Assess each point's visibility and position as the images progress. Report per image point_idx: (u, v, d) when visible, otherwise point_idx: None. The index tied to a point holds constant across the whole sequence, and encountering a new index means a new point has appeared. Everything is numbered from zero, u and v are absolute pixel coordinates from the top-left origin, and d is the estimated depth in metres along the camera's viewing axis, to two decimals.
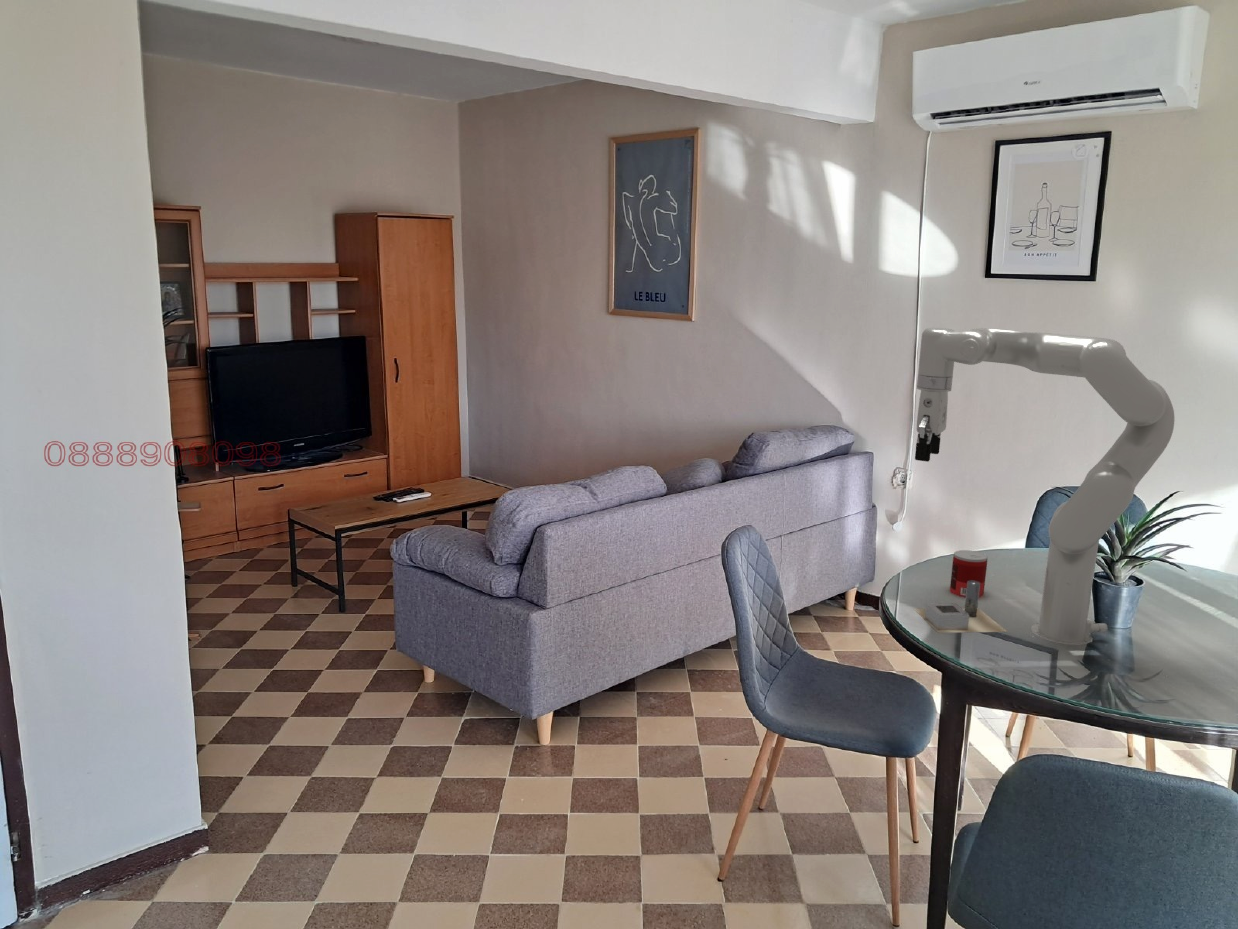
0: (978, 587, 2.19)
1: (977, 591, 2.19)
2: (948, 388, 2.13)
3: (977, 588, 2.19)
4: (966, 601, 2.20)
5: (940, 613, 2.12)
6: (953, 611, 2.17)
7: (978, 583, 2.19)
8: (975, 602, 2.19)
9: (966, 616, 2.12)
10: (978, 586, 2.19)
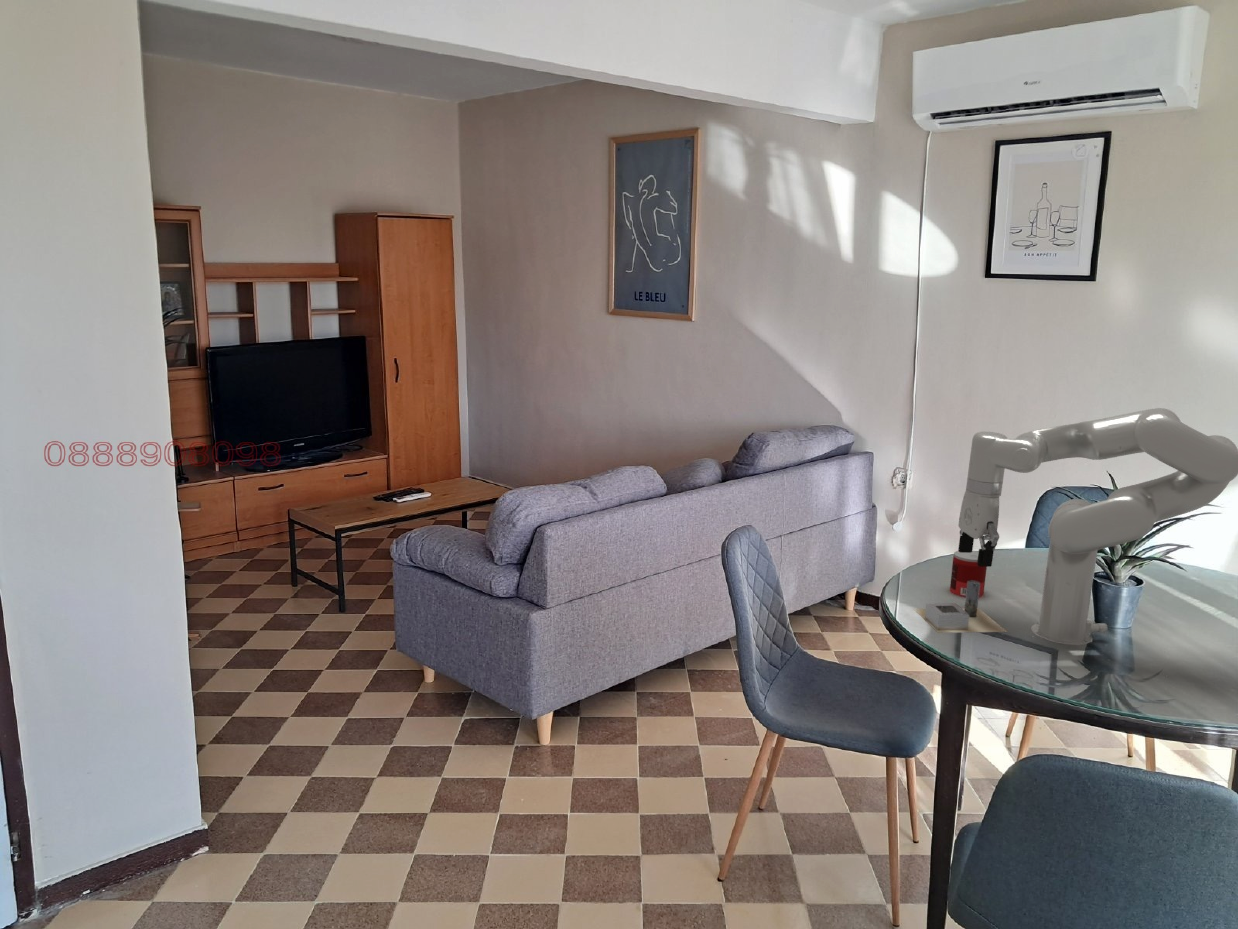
0: (978, 587, 2.19)
1: (977, 591, 2.19)
2: (966, 488, 2.16)
3: (977, 588, 2.19)
4: (966, 601, 2.20)
5: (940, 613, 2.12)
6: (953, 611, 2.17)
7: (978, 583, 2.19)
8: (975, 602, 2.19)
9: (966, 616, 2.12)
10: (978, 586, 2.19)
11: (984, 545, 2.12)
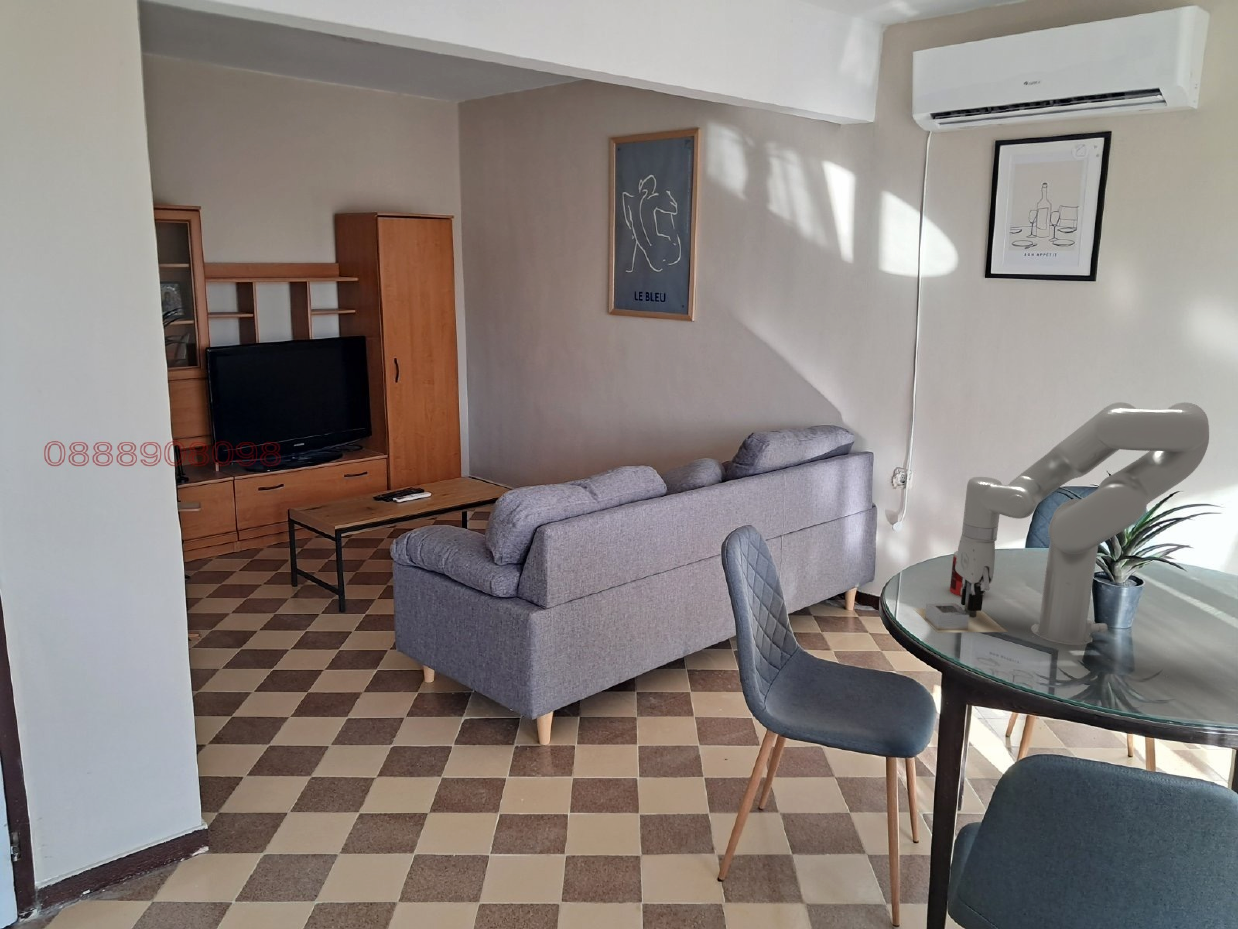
0: None
1: None
2: (962, 532, 2.18)
3: None
4: (966, 601, 2.21)
5: (940, 613, 2.12)
6: (953, 611, 2.17)
7: None
8: None
9: (966, 616, 2.12)
10: None
11: (974, 592, 2.17)
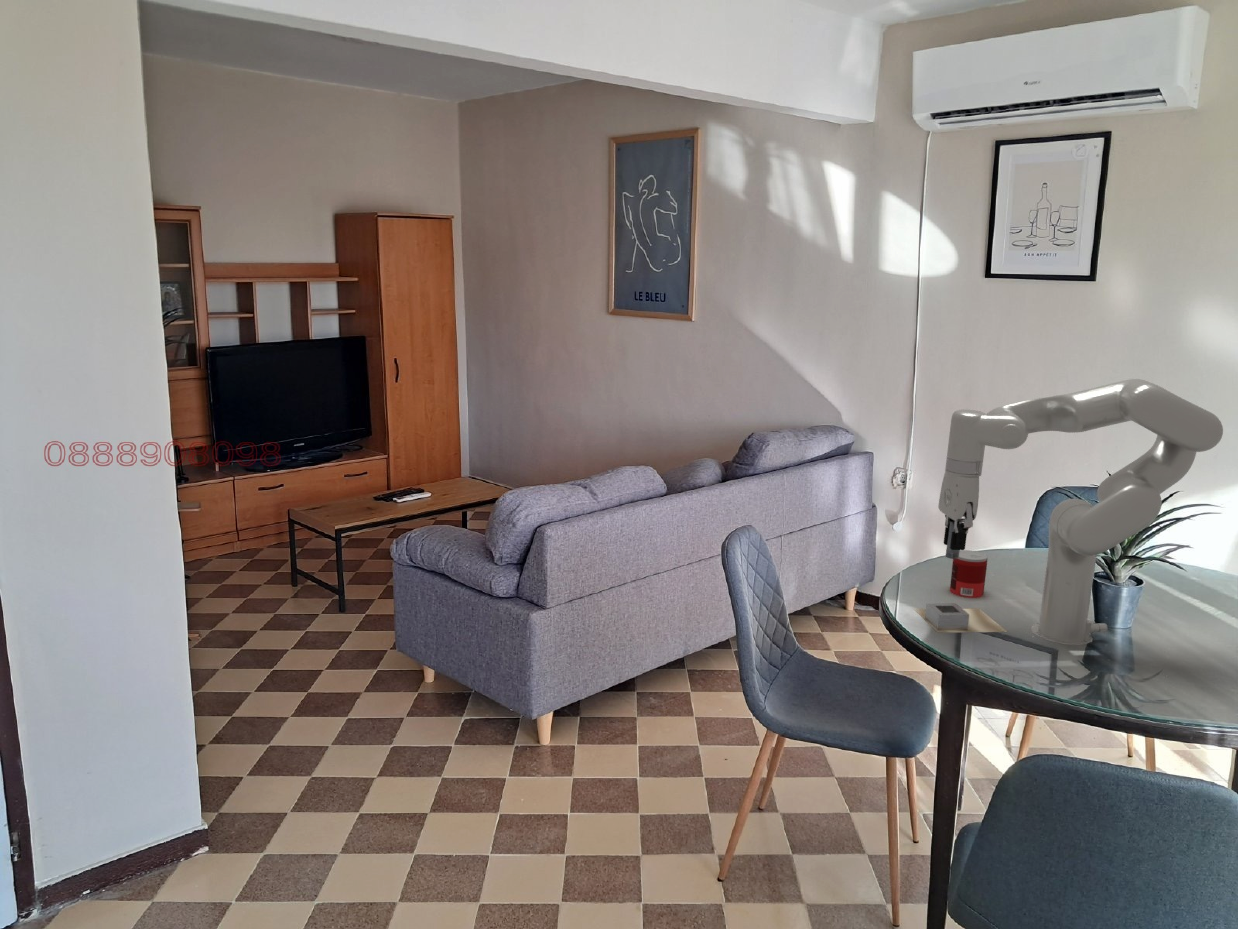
0: None
1: None
2: (945, 468, 2.10)
3: None
4: (948, 542, 2.12)
5: (940, 613, 2.12)
6: (953, 611, 2.17)
7: None
8: None
9: (966, 616, 2.12)
10: None
11: (957, 529, 2.08)
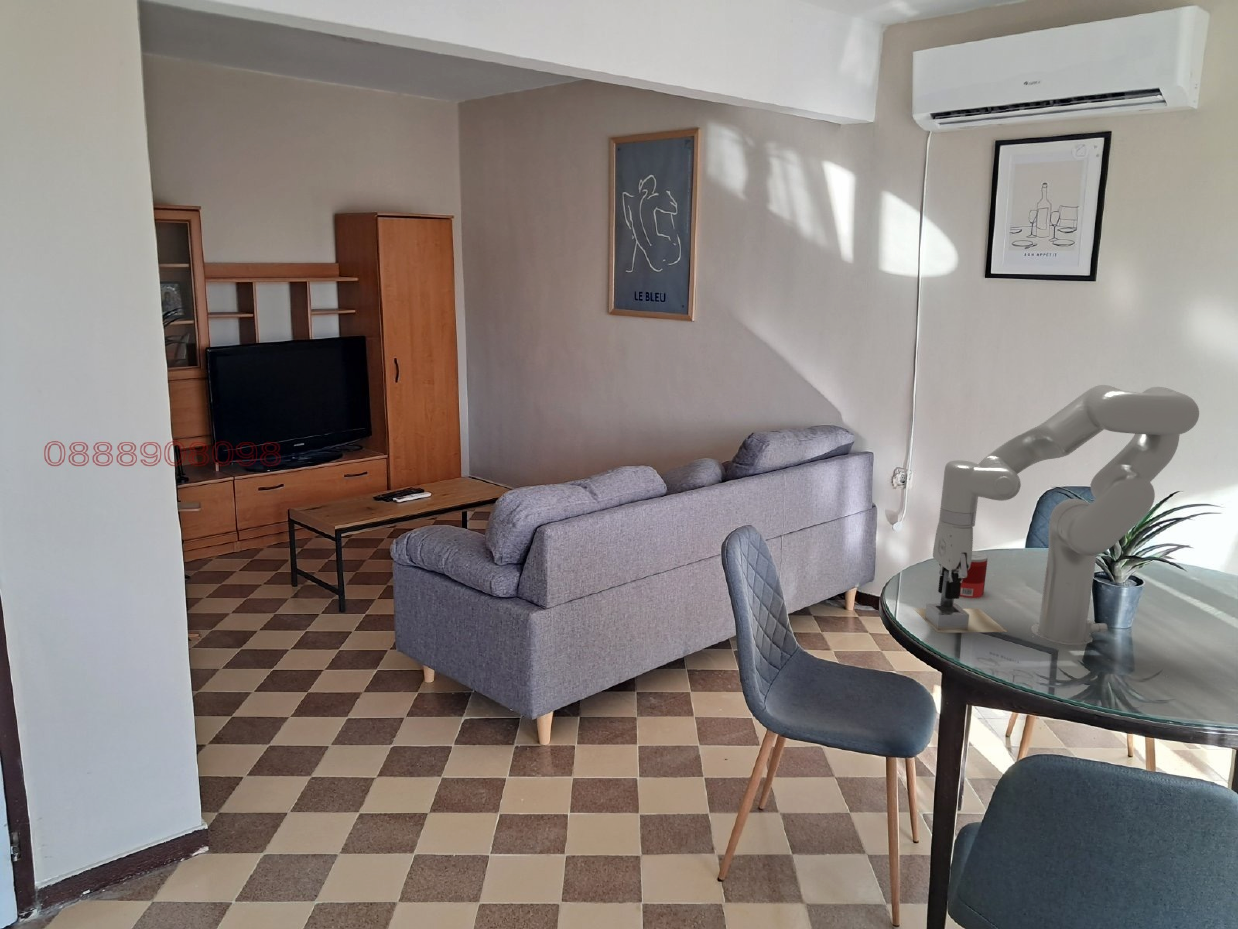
0: None
1: None
2: (939, 518, 2.12)
3: None
4: (942, 591, 2.14)
5: (940, 613, 2.12)
6: (953, 611, 2.17)
7: (955, 572, 2.13)
8: None
9: (966, 616, 2.12)
10: None
11: (951, 579, 2.10)
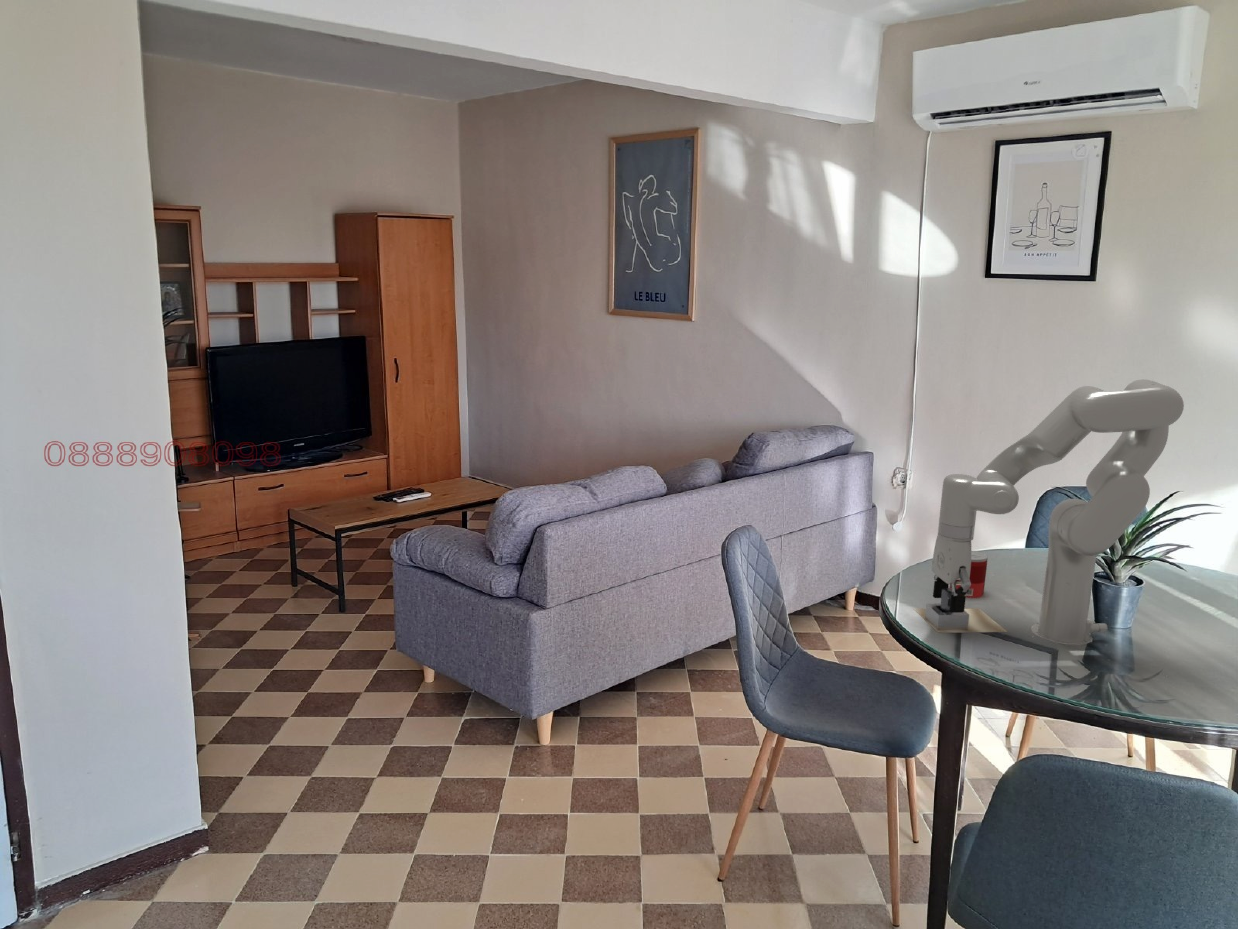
0: None
1: None
2: (938, 531, 2.12)
3: None
4: (941, 610, 2.15)
5: (940, 613, 2.12)
6: None
7: None
8: None
9: (966, 616, 2.12)
10: None
11: (955, 591, 2.08)
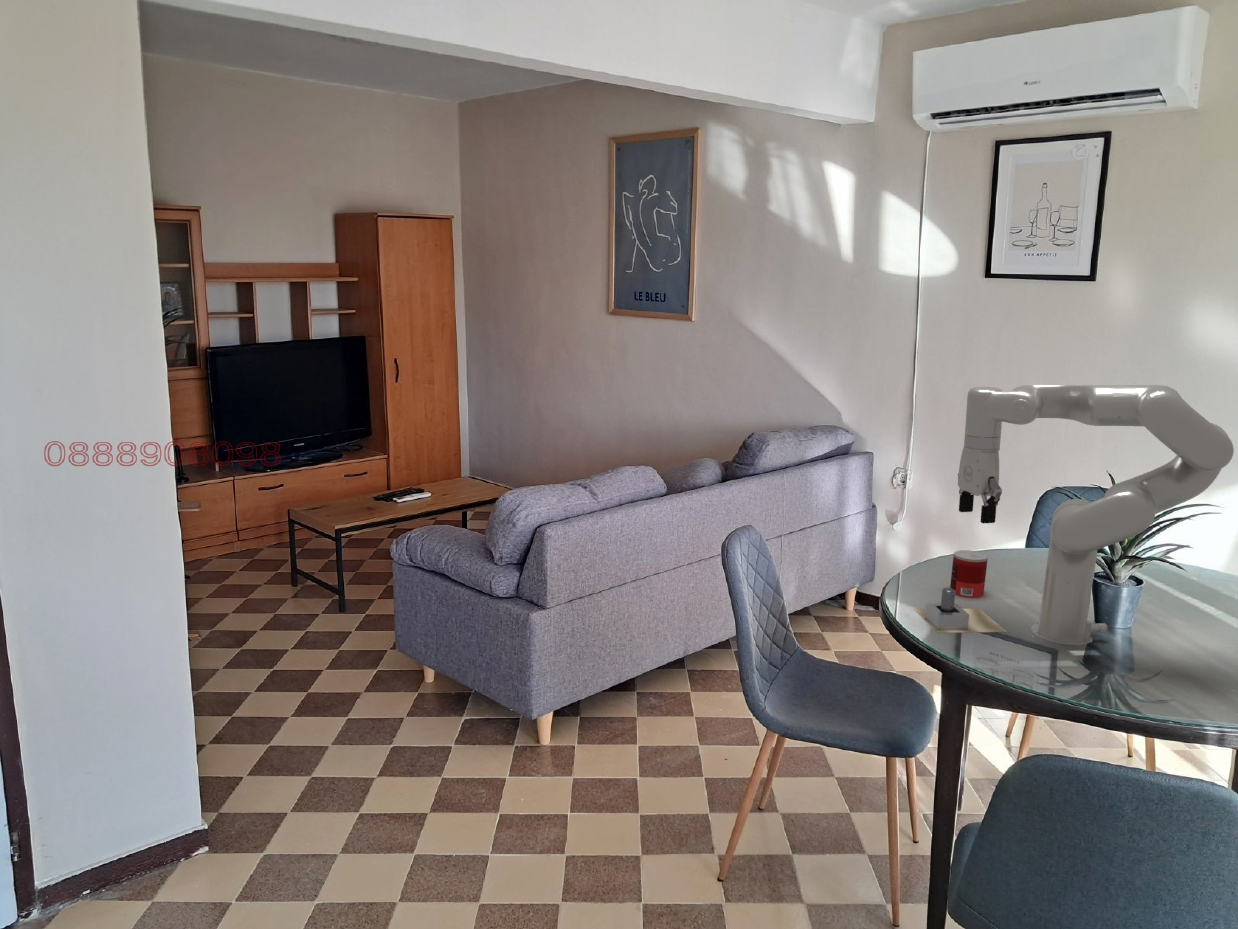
0: (954, 595, 2.13)
1: (952, 599, 2.13)
2: (964, 445, 2.13)
3: (952, 596, 2.13)
4: (941, 610, 2.15)
5: (940, 613, 2.12)
6: (953, 611, 2.17)
7: (953, 591, 2.14)
8: (950, 610, 2.14)
9: (966, 616, 2.12)
10: (953, 594, 2.13)
11: (986, 501, 2.09)
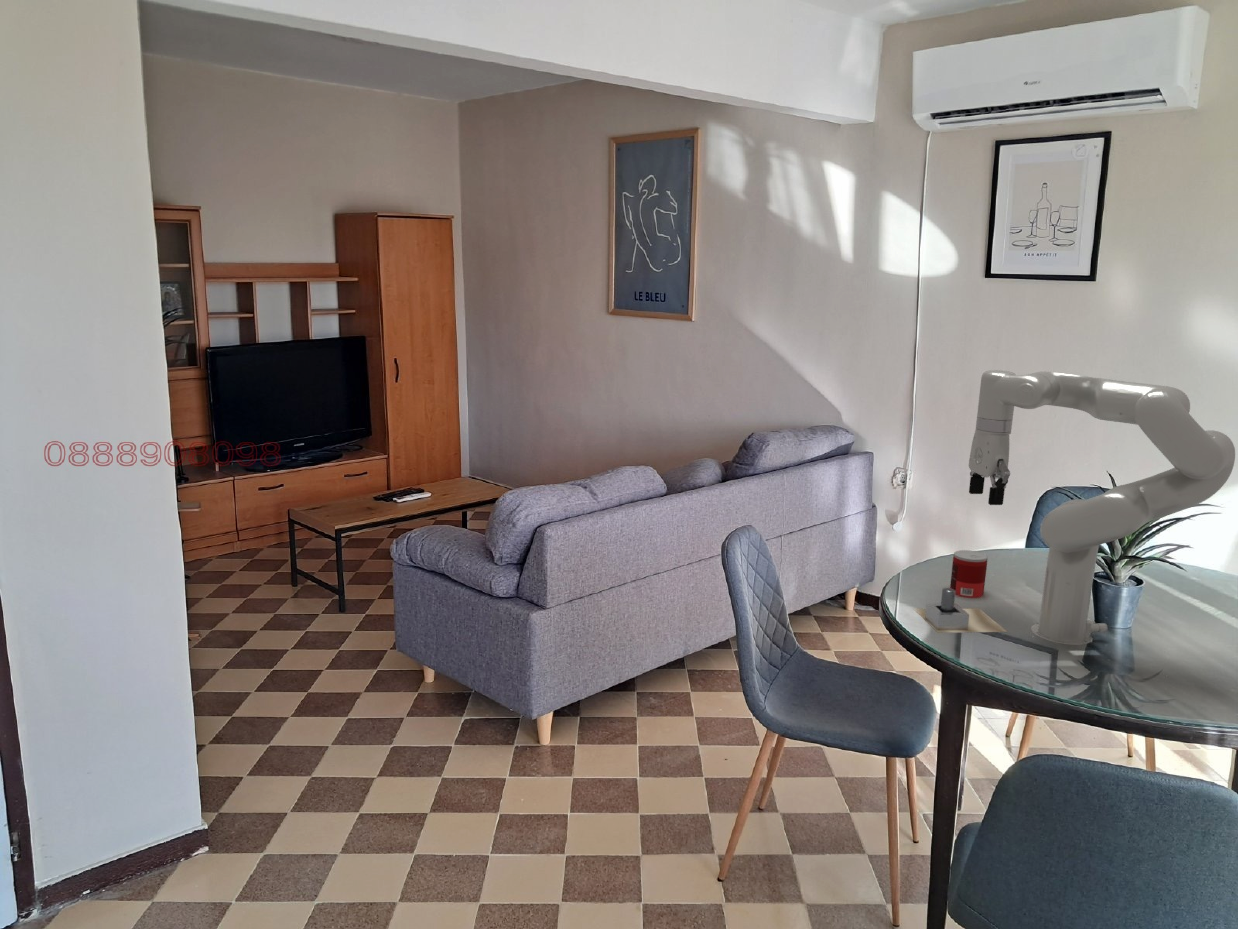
0: (954, 595, 2.13)
1: (952, 599, 2.13)
2: None
3: (952, 596, 2.13)
4: (941, 610, 2.15)
5: (940, 613, 2.12)
6: (953, 611, 2.17)
7: (953, 591, 2.14)
8: (950, 610, 2.14)
9: (966, 616, 2.12)
10: (953, 594, 2.13)
11: (995, 483, 2.12)
